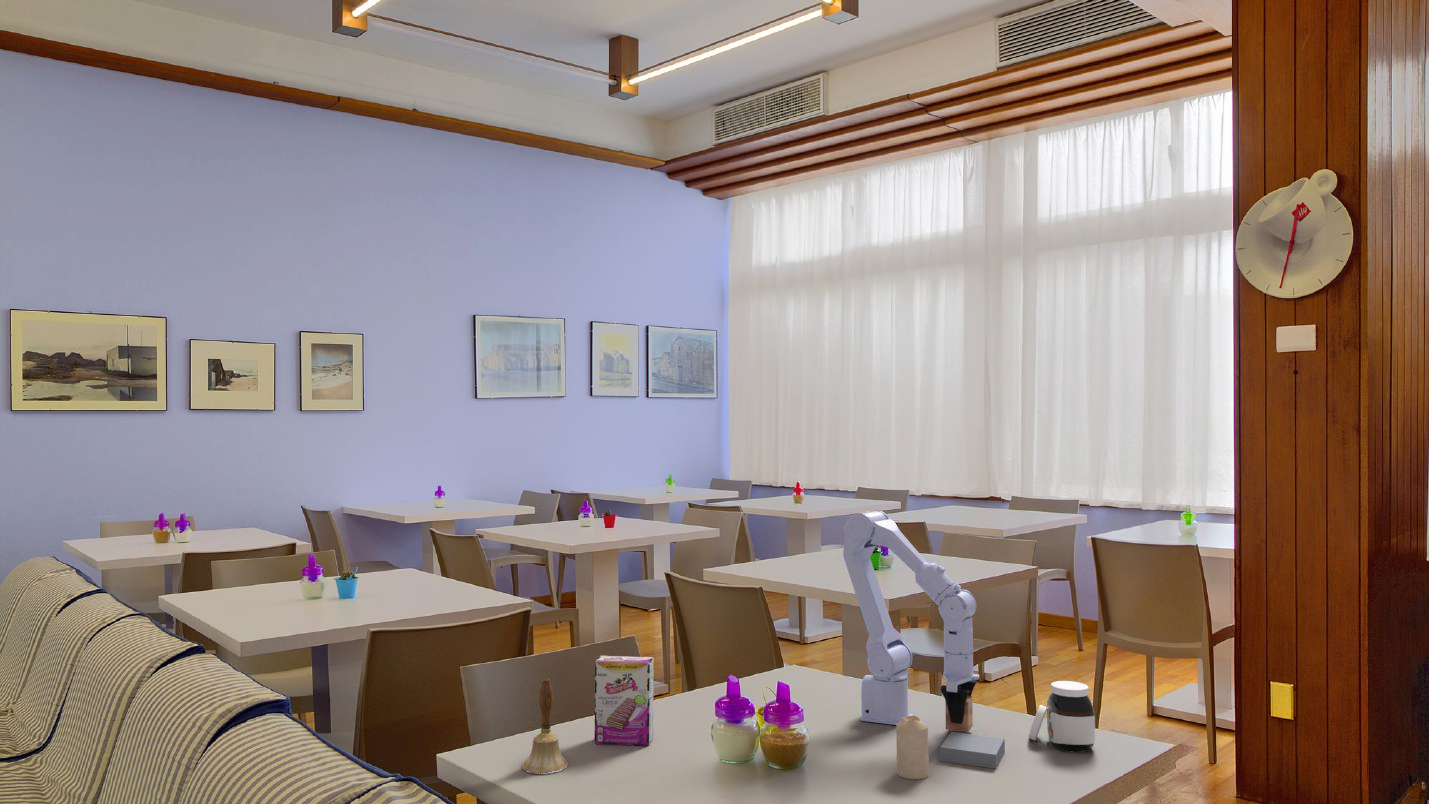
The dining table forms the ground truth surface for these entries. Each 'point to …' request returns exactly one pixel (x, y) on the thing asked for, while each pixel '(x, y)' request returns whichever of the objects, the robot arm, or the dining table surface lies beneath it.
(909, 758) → the candle
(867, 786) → the dining table surface
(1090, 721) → the spread jar
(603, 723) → the candy bar box
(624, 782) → the dining table surface
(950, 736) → the base
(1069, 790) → the dining table surface
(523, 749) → the dining table surface
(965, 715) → the block
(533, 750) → the hand bell
